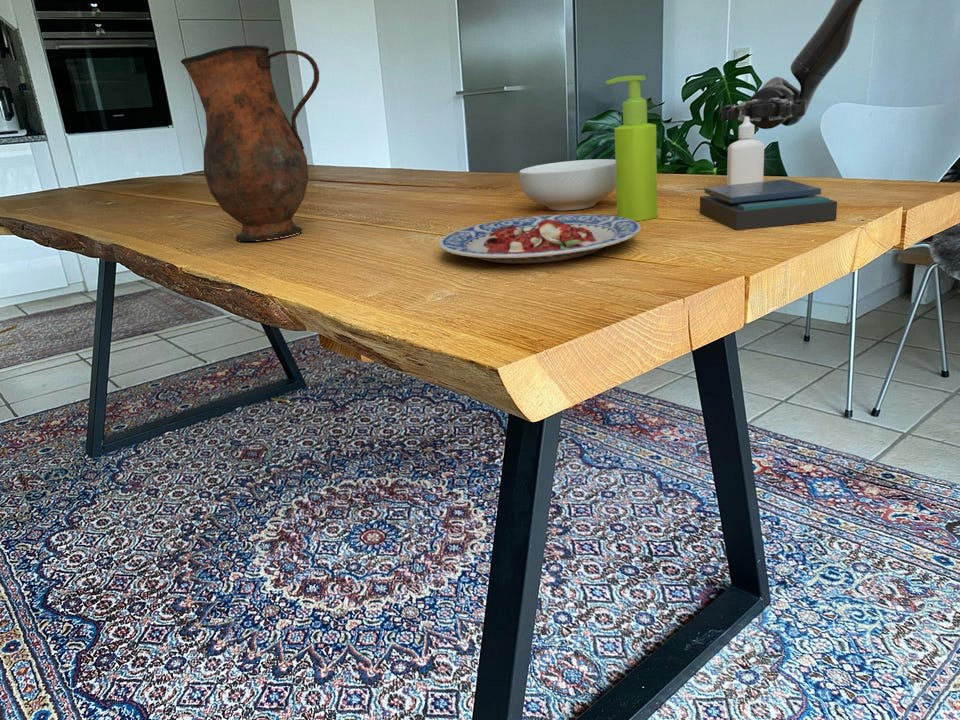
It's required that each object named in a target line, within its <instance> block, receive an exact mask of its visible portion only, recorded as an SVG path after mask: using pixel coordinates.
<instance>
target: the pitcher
mask: <svg viewBox="0 0 960 720" xmlns="http://www.w3.org/2000/svg"><path fill="white" fill-rule="evenodd" d="M269 52H270V48H269V47H268V46H266V45H255V44H250V45H249V44H244V45H233V46H232V45H231V46H227V47H226V46H225V47H223V48H222V47H221V48H217V49H213V50H209V51H207V52H203V53H200V54H197V55H193V56H188V57H183V58H182V59H181V60H180V63H181V65H183V66H184V68H185V70H186V71H187V73H188V75H189V76H190V79H191V80H192V82H193V84H194V86H195V88H196V89H195V90H196V91H197V94H198V97H199V99H200V102H201V104H202V107H203V110H204V113H205V123H206V124H205V125H206V135H205V141H204V146H203V152H202V153H203V154H202V155H203V175H204V178H205V181H206V183H207V187H208V189H209V190H208V191H209V193H210V194H211V196H212V197H213V198H214V200H215V201H216V203H217V204H218V206H219V207H220V208H221V210H222V211H224V212H225V213H226V214H228V215H229V216H230V217H231V218H232V219H233V220H235V221H236V222H237V223H239V224H241V225H242V229H241V232H240V233H238V234H237V235H236V237H235V239H237V240H240V241H256V240H267V239H274V238H280V237H285V236H289V235H293V234H296V233H299V232H301V231H302V230H303V228H302V227H301V226H298V225H295V223H294V222H293V217H294V216H295V214H296V213H297V211H298V209H299V208H300V206H301V204H302V202H303V200H304V198H305V195H306V190H307V186H308V182H309V169H308V168H309V167H308V157H307V155H306V153H305V150H304V149H305V147H304V145H303V141H302V139H301V137H300V135H299V133H298V130H297V128H296V120H297V117H298V116H299V114H300V111H301V110H302V109H303V108H304V106H305V105H306V104H307V102H308V101H309V99H310V98H311V97H312V95H313V94H314V92H315V91H316V89H317V88H318V84H319V83H320V70H319V67H318V64H317V62H316V61H315V60H314V58H313V57H312V56H310V55H309V54H308V53H307V52H303V51H301V50H295V49H289V50H287V49H286V50H284V49H283V50H279V51H275V52H272V53H269ZM285 54H286V55H287V54H291V55H292V54H293V55H297V56H301V57H303V58H304V59H306V60H307V61H308V62H309V64H310V65H311V67H312V70H313V80H312V82H311V85H310V87H309V88H308V90H307V92H306V93H305V94H304V96H303V97H302V99H300V100H299V103H297V105H296V107H295V108H294V110H293V113H292V116H291V122H290V121H289V119H288V117H287V115H286V113H285V111H284V110H283V108H282V106H281V104H280V103H279V100H278V97H277V93H276V89H275V86H274V83H273V77H272V73H271V67H272V65H271V59H273V58H274V57H277V56H280V55H285ZM302 232H303V231H302ZM302 232H301V233H302ZM237 240H236V241H237ZM240 241H239V242H240Z"/></svg>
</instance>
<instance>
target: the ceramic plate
mask: <svg viewBox="0 0 960 720" xmlns="http://www.w3.org/2000/svg"><path fill="white" fill-rule="evenodd" d="M640 231H641V225H640V223H638V221H633V220H630V219H627V218H621V217H617V215H605V214H591V213H590V214H586V213H585V214H583V213H582V214H578V213H577V214H576V213H575V214H573V213H572V214H568V213H567V214H549V215H547V214H546V215H545V214H544V215H536V216H526V217H525V216H524V217H517V218H516V217H514V218H509V219H502V220H496V221H489V222H485V223H480V224H475V225H472V226H469V227H464V228H461V229H458V230H455V231H453V232H450V233H448V234H446V235H445V236H443V237H442V238H441V239H440V240H439V241H438V245H439V247H440V248H441V249H442V251H444V252H447V253H449V254H454V255H458V256H461V257H470V258H476V259H479V260H483V261H486V262H491V263H500V264H542V263H550V262H551V263H552V262H560V261H565V260H569V259H570V260H571V259H575V258H580V257H584V256H587V255H590V254H593V253H595V252H598V251H599V250H602V249H603V248H606V247H609V246H614V245H617V244H619V243H622V242H625V241H628V240H630V239H632V238H633V237H635V236H636V235H638V234H639V233H640Z"/></svg>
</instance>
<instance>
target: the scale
mask: <svg viewBox="0 0 960 720" xmlns="http://www.w3.org/2000/svg"><path fill="white" fill-rule="evenodd" d="M837 210H838V201H837V200H833V199H830V197H825V196H822V195H820V196H819V195H810V196H800V197H790V198H780V199H770V200H760V201H750V202H740V203H729V202H726V201H724V200H721V199H719V198H716V197H714V196H711V195H701V196H699V213H700V214H701V215H704V216H706V217H708V218H710V219H712V220H714V221H716V222H718V223H720V224H722V225H725V226H727V227H729V228H731V229H733V230H735V231H741V230H752V229H761V228H762V229H763V228H771V227H772V228H773V227H783V226H790V225H801V224H802V225H803V224H813V223H823V222H832V221H836V220H837Z"/></svg>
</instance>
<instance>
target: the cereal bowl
mask: <svg viewBox="0 0 960 720" xmlns="http://www.w3.org/2000/svg"><path fill="white" fill-rule="evenodd" d="M518 174H519V175H518V176H519V182H520V186H521V189H522V192H523V193H524V195H525V196H526V197H527V198H528V199H529V200H531V201H532V202H534V203H536V204H538V205H543V206H545V207H547V208H548V210H551V211H558V212H566V211H576V210H577V211H578V210H584V209H590V208H593V207H595V206H596V204H597V203H598V202H599V201H601V200H603V199H604V198H606V197H608V196H609V195H611V194H612V193H613V192H615V190H616V159H612V158H608V159H607V158H598V159H597V158H596V159H595V158H594V159H593V158H591V159H579V160H569V161H568V160H567V161H566V160H565V161H558V162H551V163H544V164H538V165H533V166H529V167H525V168H522V169H521V170H519V172H518Z"/></svg>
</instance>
